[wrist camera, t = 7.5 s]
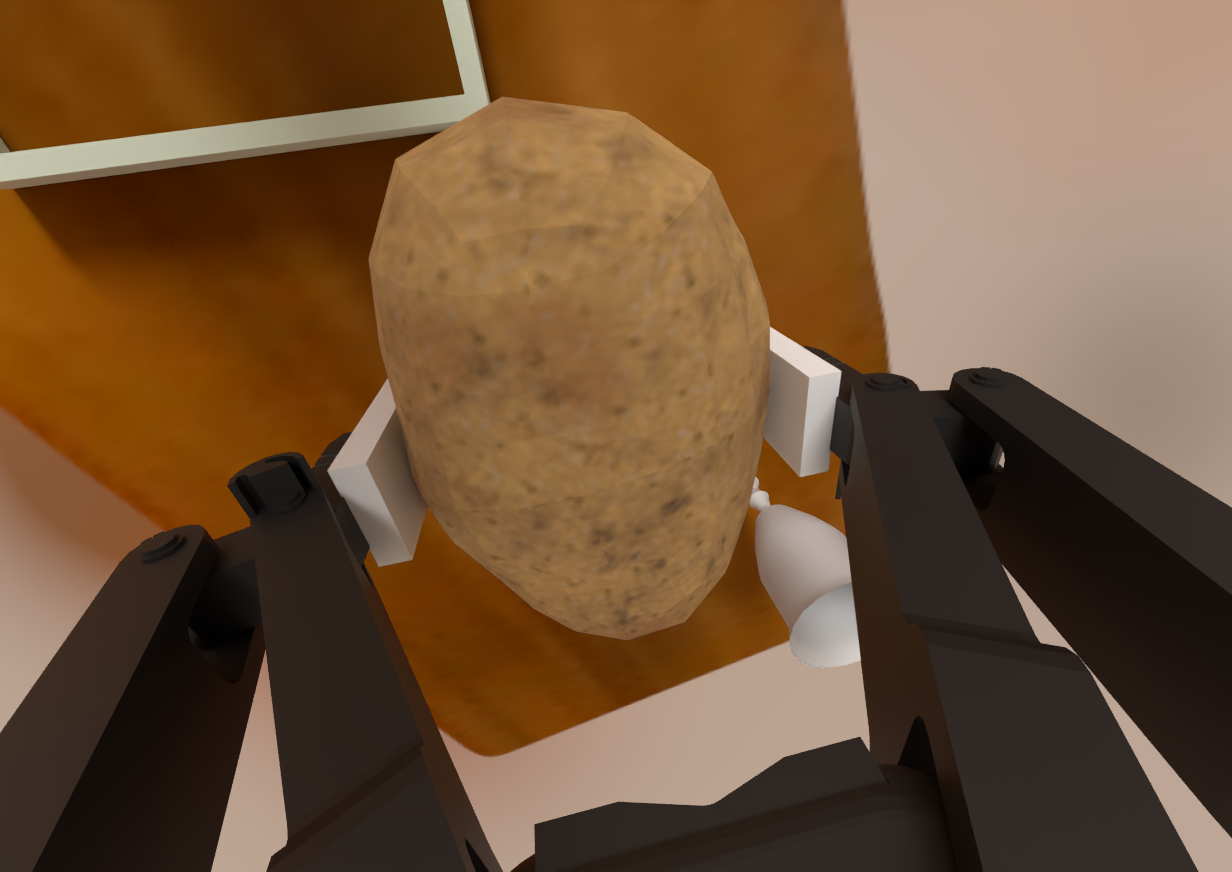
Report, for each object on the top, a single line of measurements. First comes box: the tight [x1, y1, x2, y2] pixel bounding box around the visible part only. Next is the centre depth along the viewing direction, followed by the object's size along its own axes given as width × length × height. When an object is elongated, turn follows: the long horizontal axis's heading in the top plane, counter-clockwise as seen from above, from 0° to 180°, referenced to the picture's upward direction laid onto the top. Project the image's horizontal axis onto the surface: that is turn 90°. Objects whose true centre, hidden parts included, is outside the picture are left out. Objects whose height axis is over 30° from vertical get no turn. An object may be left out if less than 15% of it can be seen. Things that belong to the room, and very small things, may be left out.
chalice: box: [749, 477, 861, 668], centre depth 33 cm, size 7×7×18 cm
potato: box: [368, 97, 770, 640], centre depth 13 cm, size 10×14×8 cm
